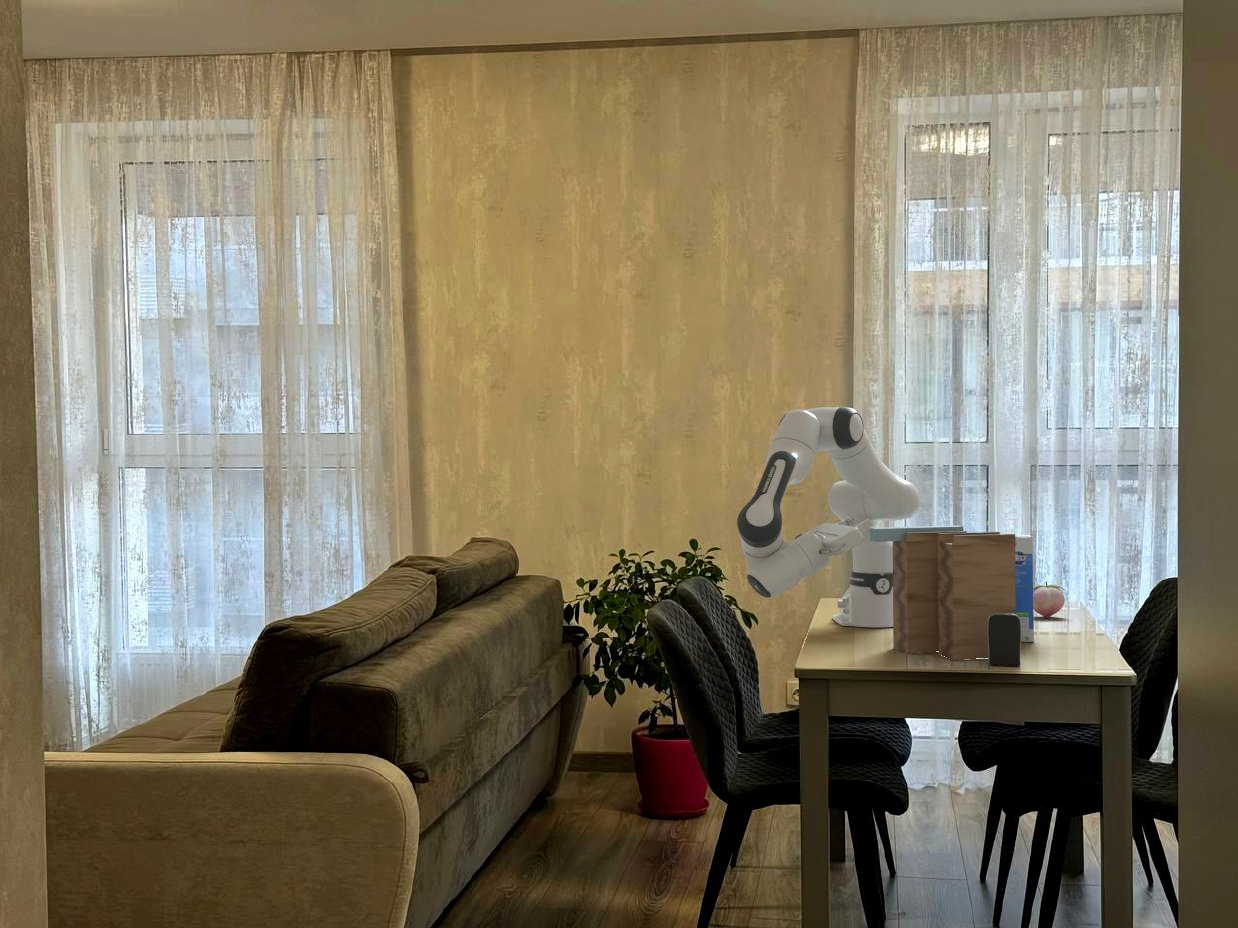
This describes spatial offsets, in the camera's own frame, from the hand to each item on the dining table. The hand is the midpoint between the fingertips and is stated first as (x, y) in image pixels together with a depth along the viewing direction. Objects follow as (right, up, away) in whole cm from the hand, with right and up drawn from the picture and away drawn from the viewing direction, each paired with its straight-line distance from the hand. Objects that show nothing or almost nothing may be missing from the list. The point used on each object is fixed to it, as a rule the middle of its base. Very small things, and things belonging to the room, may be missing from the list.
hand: (861, 520), depth 296 cm
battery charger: (+28, -31, -17) cm, 45 cm away
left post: (+17, -31, +4) cm, 35 cm away
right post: (+25, -31, -6) cm, 40 cm away
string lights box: (+38, -30, +17) cm, 52 cm away
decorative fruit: (+61, -29, +54) cm, 87 cm away
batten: (+14, -5, +3) cm, 15 cm away
